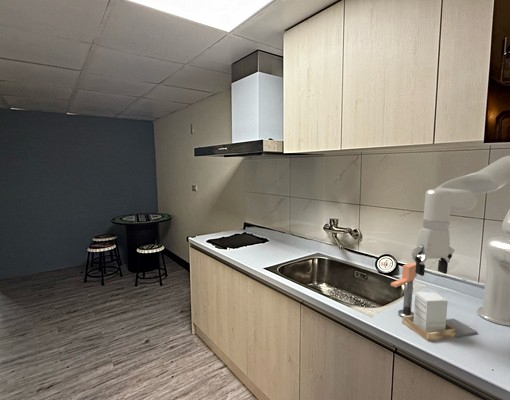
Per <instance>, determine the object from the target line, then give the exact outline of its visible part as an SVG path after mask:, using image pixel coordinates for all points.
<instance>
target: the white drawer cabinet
mask: <svg viewBox="0 0 510 400" xmlns="http://www.w3.org/2000/svg"><path fill="white" fill-rule="evenodd" d="M414 293H415V294H414V296H415V297H414V307H413V308H414V310H413V313H414V322H413V323H414V324H416V325H417V326H419V327H420V328H422V329H423V330H425V331H426V332H428V333H431V332H437V331H443V330H445V328H446V320H447V312H448V303H449V302H448V300H447V299H446V298H444V297H443V296H442V295H440V294H438V293H436V291H415V292H414Z"/></svg>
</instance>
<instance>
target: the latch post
mask: <svg viewBox="0 0 510 400" xmlns="http://www.w3.org/2000/svg"><path fill="white" fill-rule="evenodd" d="M413 289H414V280H412V281H410V282H408V283H405V284H404V290H403V292H404V293H403V304H402V305H403V306H402V309H399V310H398V311H397V313H398V314H397V315H398V316H399V317H400V318H402V317H403V316H410V315H414V311H412V306H413V304H412V303H413Z"/></svg>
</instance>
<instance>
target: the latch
mask: <svg viewBox="0 0 510 400" xmlns="http://www.w3.org/2000/svg"><path fill="white" fill-rule="evenodd" d="M415 270H416V263H414V262H409V263H405V264H404V265H402V274H401V278H400V279H397V280H395V281H392V282H390V286H391V287H394V288H398V287H400V286H402V285H405V283H408V282H410V281H412V280H413V281H414V280H415V279H416V278H417V275H418V274H417V273H415Z"/></svg>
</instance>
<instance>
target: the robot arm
mask: <svg viewBox="0 0 510 400" xmlns="http://www.w3.org/2000/svg"><path fill="white" fill-rule="evenodd" d="M509 183H510V155H505V156H503V157H501V158H499V159H497V160H495V161H493V162H492V163H490V164H488V165H487V166H485V167H483V168H482V169H480V170H478V171H476V172H471V173H468V174H466V175H465V174H464V175H462V176H458V177H455V178H452V179H450V180H447V181H446V182H443V183H442V184H440V185H438V186H437V187H436V188H434V189H433V188H431V189H428V190H426V192H425V194H424V195H425V196H424V197H425V198H424V209H423V219H422V228H421V227H420V229H419V233H418V237H417V240H416V247H415V248H414V249H412V250H411V251H410V253H411V257H412V259H413V261H414V262H415V264H416V270H415V273H417V275H420V276H421V277H424V276H425V271H426V270H425V268H426V265H425V262H426V261H427V260H432V259H439V260H438V264H437V266H438V267H437V271H438V272H439V273H442V274H445V275H446V274H448V267H449V263H450V260H451V259H452V257H453V254H454V253H455V249H454V248H453V247H451V246H450V245H451V244H450V243H451V240H450V230H449V228H450V227H449V226H450V218H451V217H450V215H451V211H453V212H460V213H461V212H463V213H465V212H469V211H471V210H473V209H475V208H476V206H477V204H478V198H477V195H483V194H488V193H489V194H490V193H493V192H495V191H497V190H499V189H500V188H502V187H504V186H505V185H507V184H509ZM501 230H502V232H503V233H505V234H506V235H509V236H510V208H509V209H508V211H507V213H506V215H505V216H504V219H503V222H502V224H501ZM484 252H485V260H486V271H485V280H484V288H483V298H482V300H483V301H482V306H481V307H478V308H477V309H476V310H477V311H476V313H477V314H478V315H479V316H480V317H481V318H483V319H485V320H487V321H489V322H492V323H495V324H498V325H504V326H509V327H510V237H506V236H492V237H490V238H488V240H487V241H486V242H485V245H484Z"/></svg>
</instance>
